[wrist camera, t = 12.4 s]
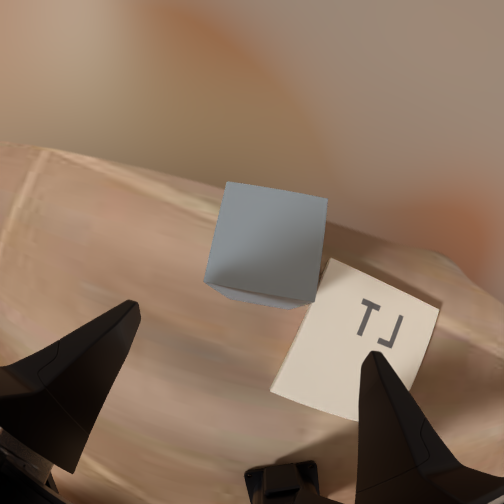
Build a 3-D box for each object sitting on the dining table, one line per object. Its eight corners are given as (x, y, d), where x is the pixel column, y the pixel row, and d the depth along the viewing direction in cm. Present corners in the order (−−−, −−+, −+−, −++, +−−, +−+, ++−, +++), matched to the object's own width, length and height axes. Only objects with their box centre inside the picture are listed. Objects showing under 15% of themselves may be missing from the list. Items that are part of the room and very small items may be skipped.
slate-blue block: (288, 309, 23) (314, 301, 12) (229, 298, 23) (203, 281, 12) (298, 251, 24) (328, 198, 13) (240, 241, 24) (227, 181, 13)
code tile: (385, 426, 20) (389, 430, 19) (269, 388, 21) (270, 391, 20) (433, 310, 22) (439, 309, 21) (328, 260, 23) (331, 257, 22)
